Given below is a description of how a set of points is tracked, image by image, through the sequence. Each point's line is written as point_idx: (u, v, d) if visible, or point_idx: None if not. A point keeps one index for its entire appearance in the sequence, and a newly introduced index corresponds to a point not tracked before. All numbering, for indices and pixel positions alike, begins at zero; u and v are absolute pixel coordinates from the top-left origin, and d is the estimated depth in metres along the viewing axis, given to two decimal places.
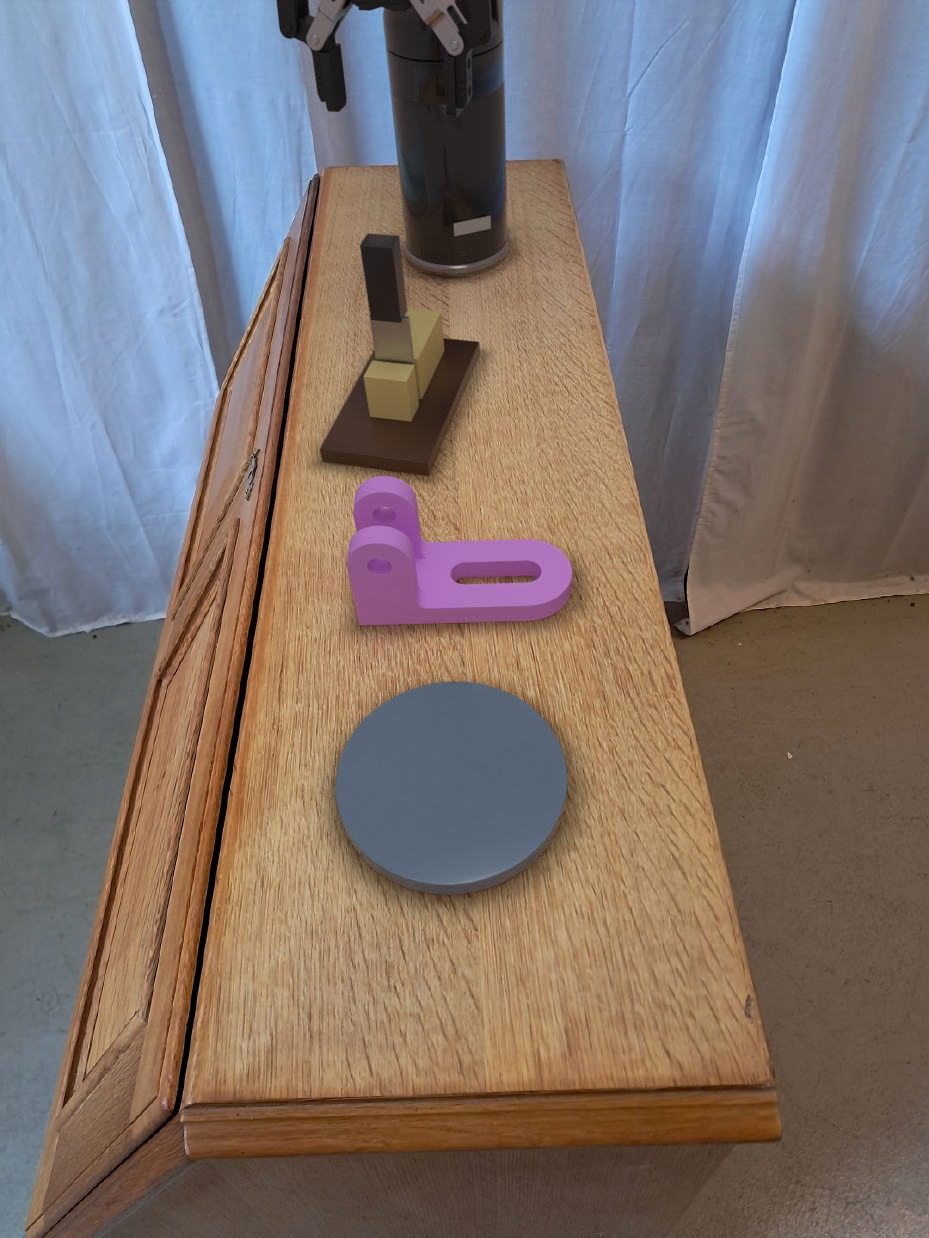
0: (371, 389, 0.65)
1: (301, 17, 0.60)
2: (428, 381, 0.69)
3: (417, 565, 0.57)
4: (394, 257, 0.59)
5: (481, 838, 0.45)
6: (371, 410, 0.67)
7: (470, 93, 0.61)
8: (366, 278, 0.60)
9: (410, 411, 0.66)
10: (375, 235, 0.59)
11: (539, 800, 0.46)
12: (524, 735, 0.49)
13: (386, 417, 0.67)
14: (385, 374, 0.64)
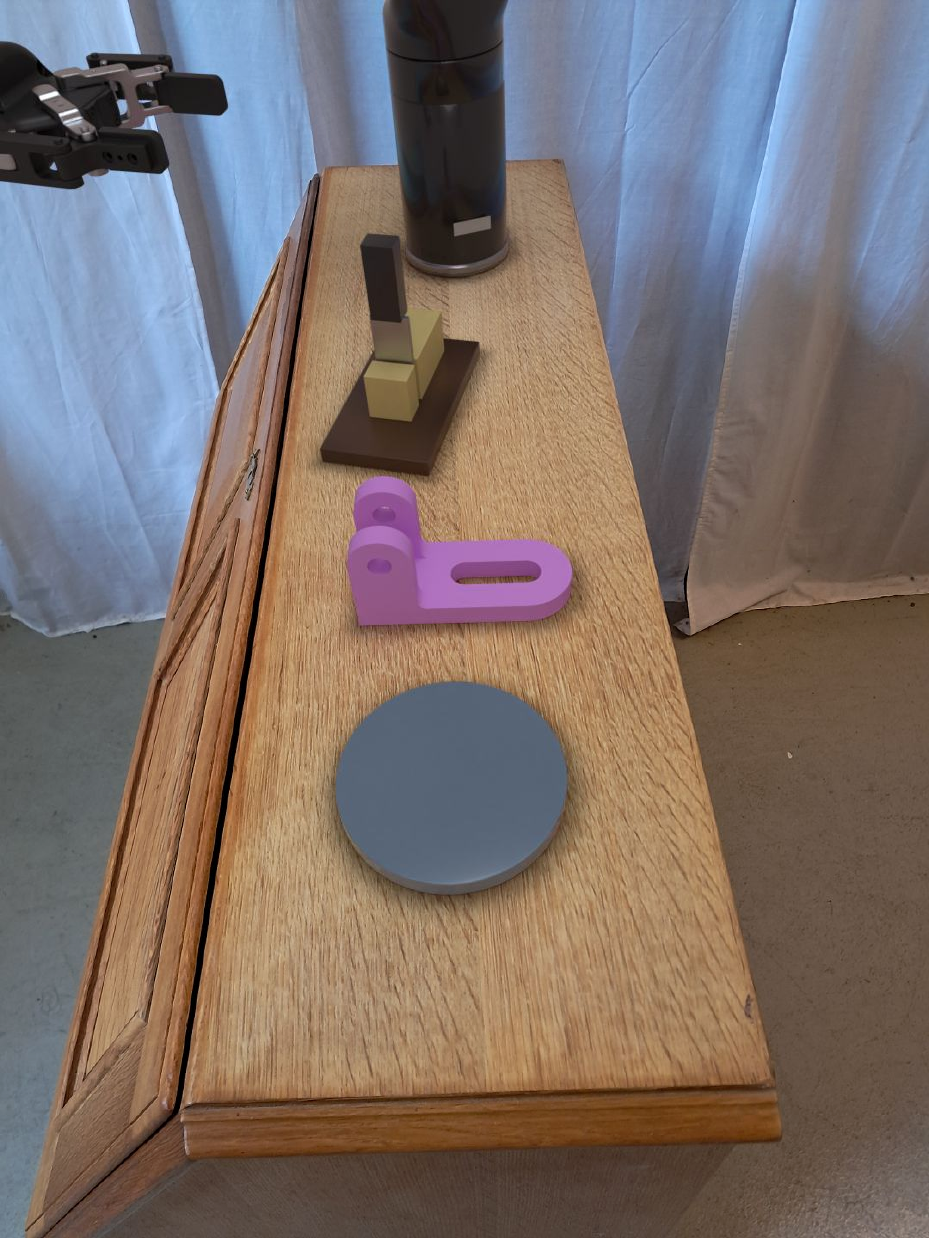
0: (371, 389, 0.65)
1: None
2: (428, 381, 0.69)
3: (417, 565, 0.57)
4: (394, 257, 0.59)
5: (481, 838, 0.45)
6: (371, 410, 0.67)
7: (134, 153, 0.53)
8: (366, 278, 0.60)
9: (410, 411, 0.66)
10: (375, 235, 0.59)
11: (539, 800, 0.46)
12: (524, 735, 0.49)
13: (386, 417, 0.67)
14: (385, 374, 0.64)
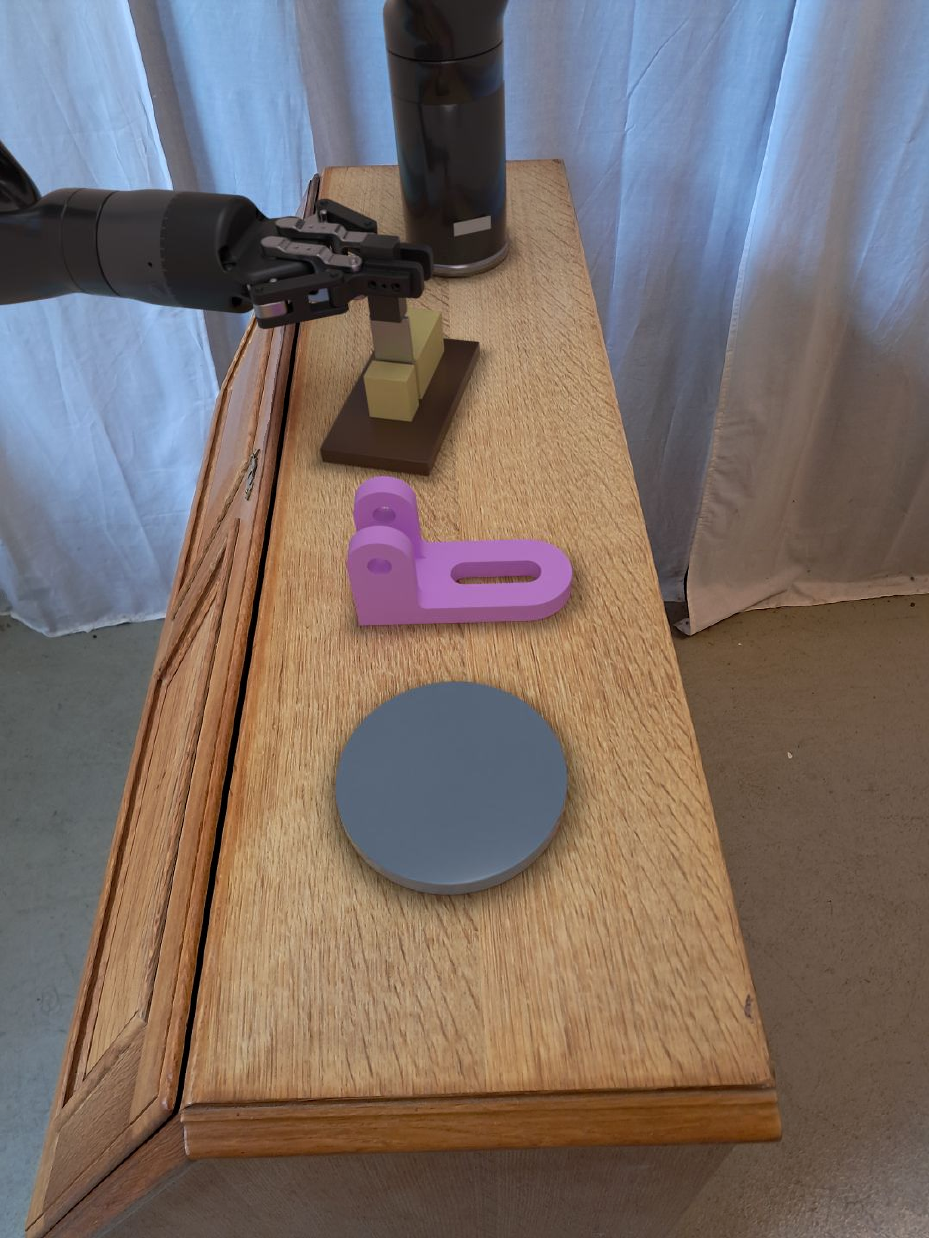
0: (371, 389, 0.65)
1: None
2: (428, 381, 0.69)
3: (417, 565, 0.57)
4: (393, 257, 0.59)
5: (481, 838, 0.45)
6: (371, 410, 0.67)
7: (399, 282, 0.58)
8: None
9: (410, 411, 0.66)
10: (375, 235, 0.59)
11: (539, 800, 0.46)
12: (524, 735, 0.49)
13: (386, 417, 0.67)
14: (385, 374, 0.64)
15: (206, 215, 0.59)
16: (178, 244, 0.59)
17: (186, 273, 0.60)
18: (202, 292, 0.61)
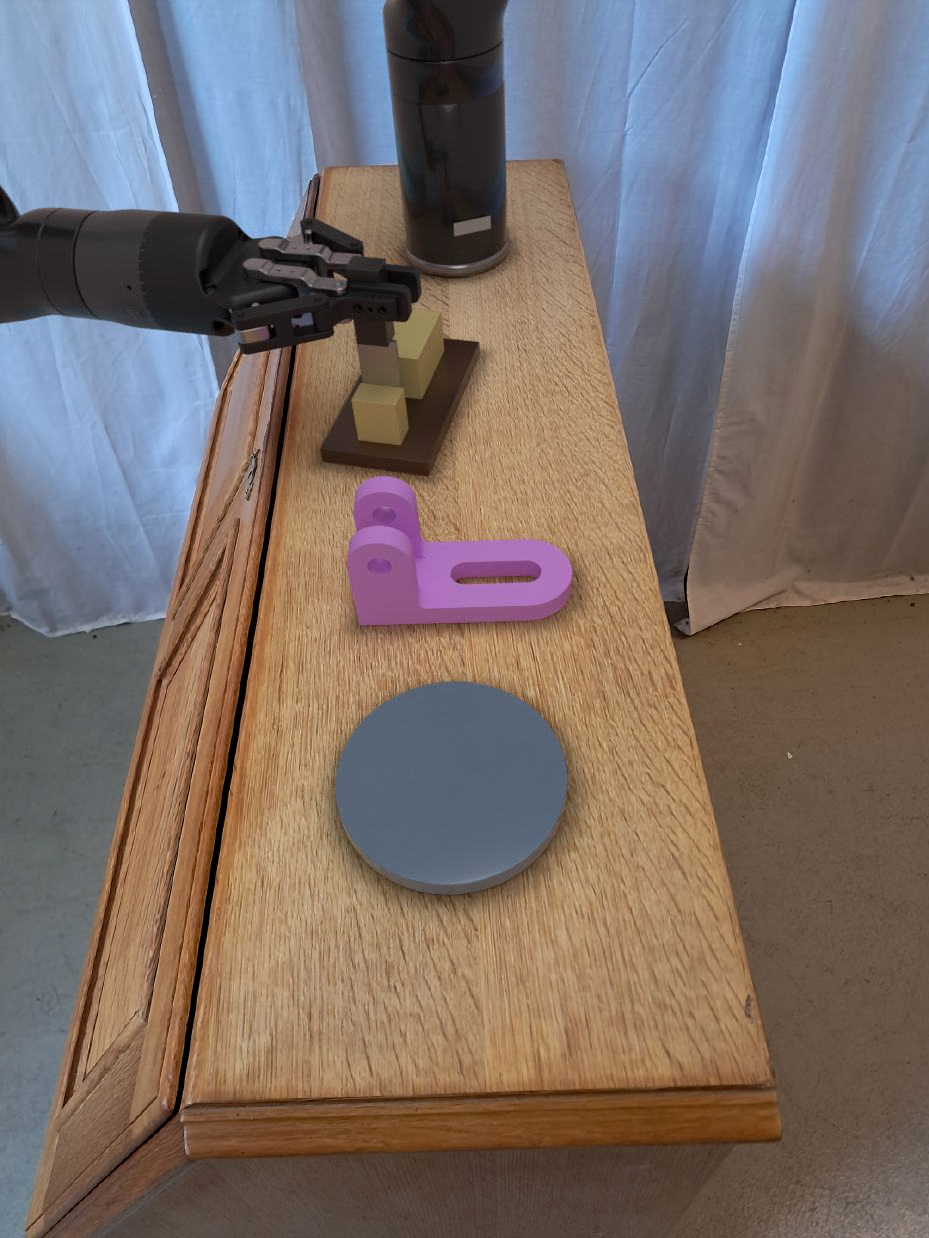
0: (359, 412, 0.63)
1: None
2: (428, 381, 0.69)
3: (417, 565, 0.57)
4: (380, 281, 0.57)
5: (481, 838, 0.45)
6: (359, 434, 0.65)
7: (385, 306, 0.56)
8: None
9: (400, 435, 0.64)
10: (361, 258, 0.57)
11: (539, 800, 0.46)
12: (524, 735, 0.49)
13: (375, 441, 0.65)
14: (373, 397, 0.63)
15: (186, 237, 0.57)
16: (157, 267, 0.57)
17: (166, 296, 0.58)
18: (183, 316, 0.59)
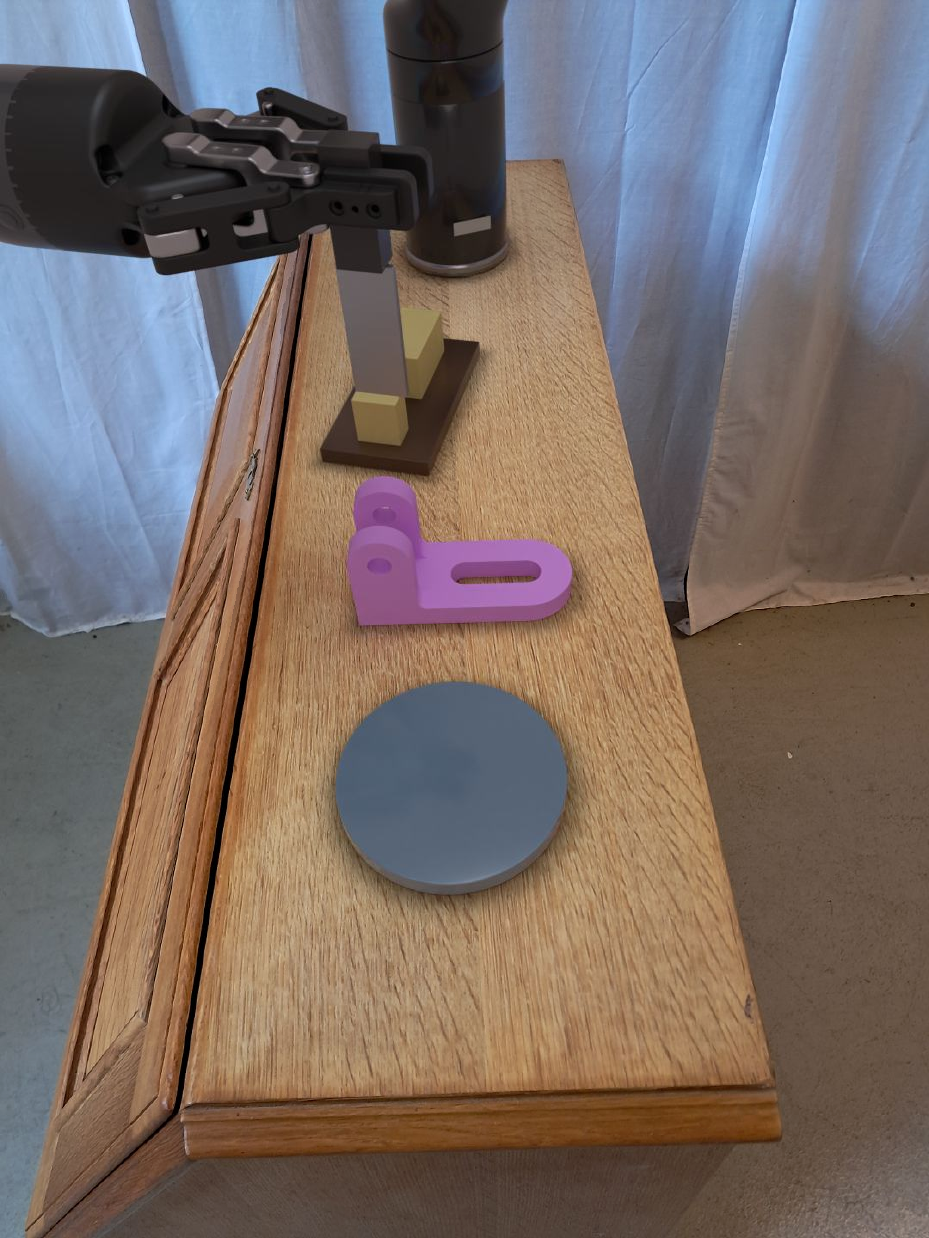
0: (358, 413, 0.63)
1: None
2: (428, 381, 0.69)
3: (417, 565, 0.57)
4: (370, 165, 0.37)
5: (481, 838, 0.45)
6: (359, 434, 0.65)
7: (378, 203, 0.37)
8: None
9: (400, 436, 0.64)
10: (342, 132, 0.38)
11: (539, 800, 0.46)
12: (524, 735, 0.49)
13: (375, 441, 0.65)
14: (373, 398, 0.63)
15: (75, 96, 0.37)
16: (33, 142, 0.38)
17: (48, 190, 0.39)
18: (75, 221, 0.39)
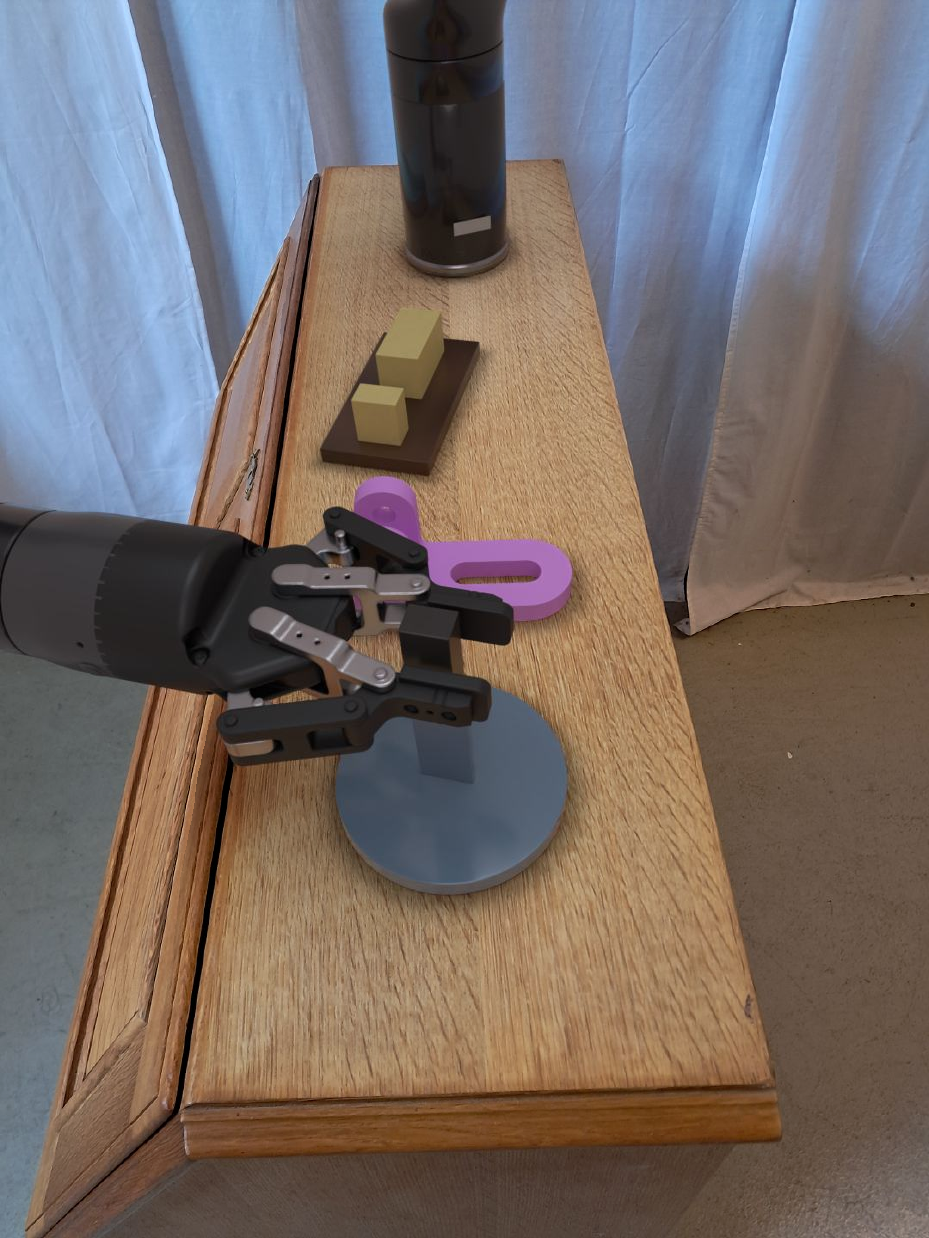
0: (358, 413, 0.63)
1: None
2: (428, 381, 0.69)
3: None
4: (450, 648, 0.38)
5: (481, 838, 0.45)
6: (359, 434, 0.65)
7: (454, 711, 0.37)
8: None
9: (400, 436, 0.64)
10: (421, 609, 0.38)
11: (539, 800, 0.46)
12: (524, 735, 0.49)
13: (375, 441, 0.65)
14: (373, 398, 0.63)
15: (164, 582, 0.38)
16: (122, 624, 0.38)
17: (135, 661, 0.39)
18: (160, 681, 0.40)
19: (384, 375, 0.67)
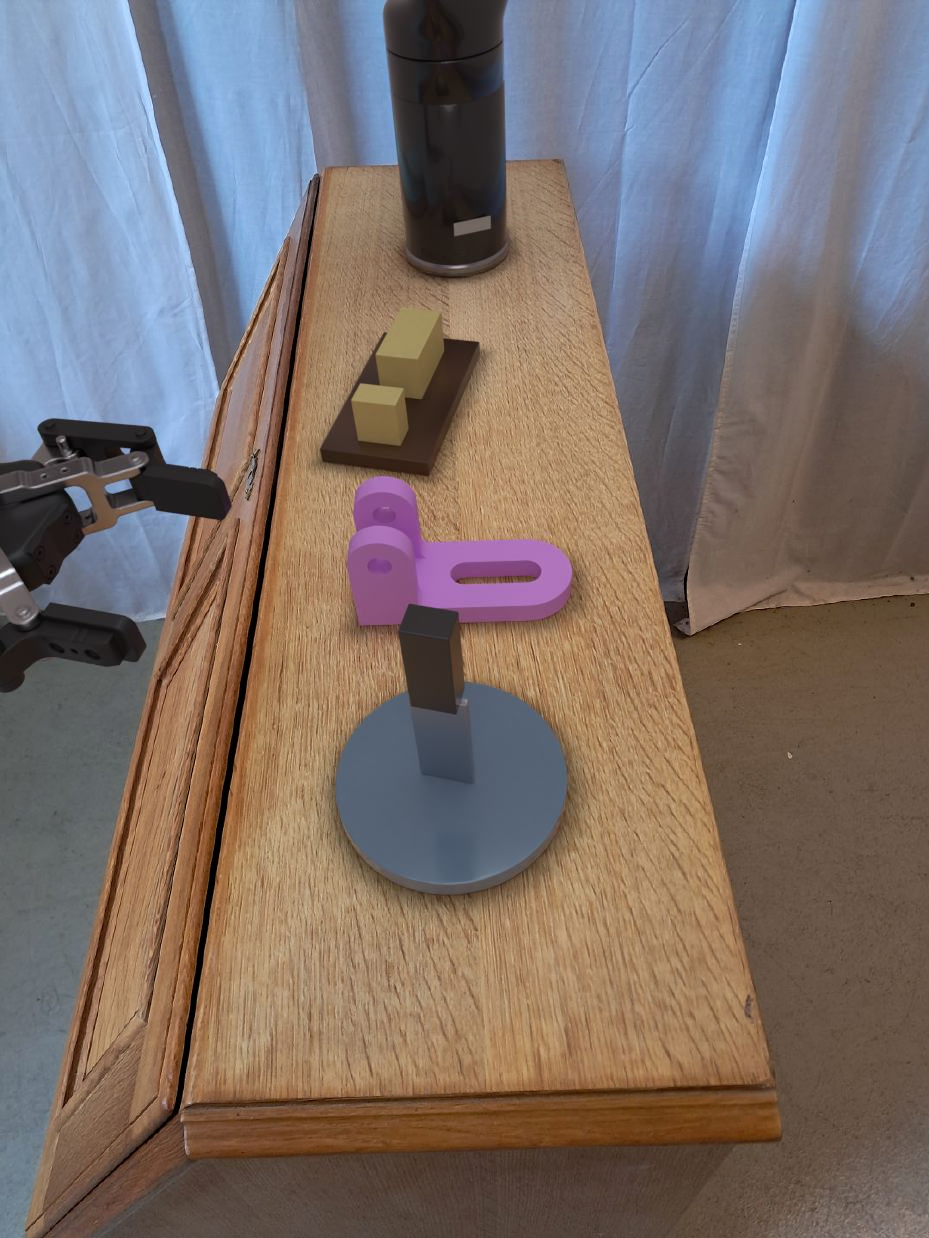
0: (358, 413, 0.63)
1: None
2: (428, 381, 0.69)
3: (417, 565, 0.57)
4: (450, 648, 0.38)
5: (481, 838, 0.45)
6: (359, 434, 0.65)
7: (95, 649, 0.36)
8: (406, 665, 0.39)
9: (400, 436, 0.64)
10: (421, 609, 0.38)
11: (539, 800, 0.46)
12: (524, 735, 0.49)
13: (375, 441, 0.65)
14: (373, 398, 0.63)
15: None
16: None
17: None
18: None
19: (384, 375, 0.67)
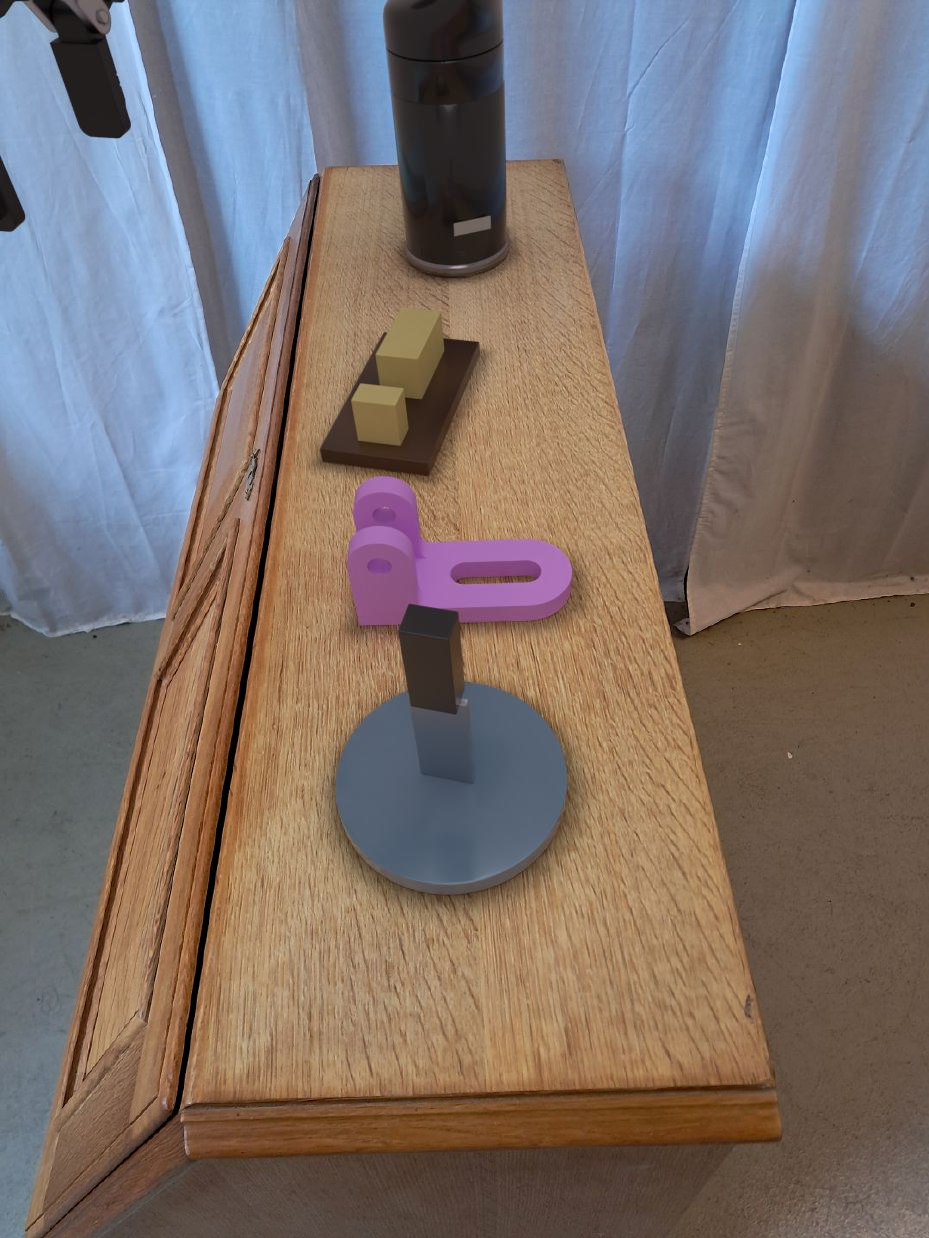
0: (358, 413, 0.63)
1: None
2: (428, 381, 0.69)
3: (417, 565, 0.57)
4: (450, 648, 0.38)
5: (481, 838, 0.45)
6: (359, 434, 0.65)
7: None
8: (406, 665, 0.39)
9: (400, 436, 0.64)
10: (421, 609, 0.38)
11: (539, 800, 0.46)
12: (524, 735, 0.49)
13: (375, 441, 0.65)
14: (373, 398, 0.63)
15: None
16: None
17: None
18: None
19: (384, 375, 0.67)
